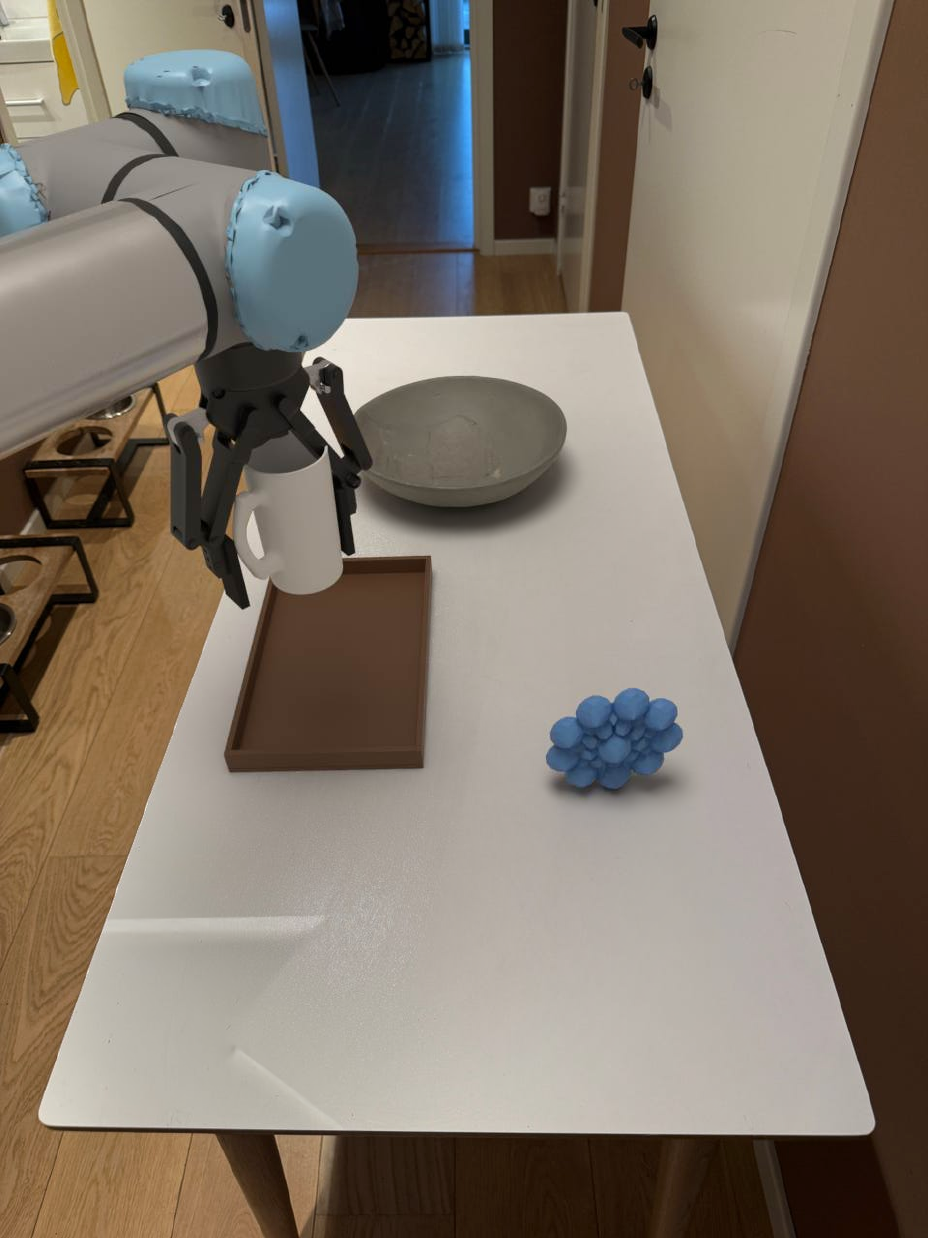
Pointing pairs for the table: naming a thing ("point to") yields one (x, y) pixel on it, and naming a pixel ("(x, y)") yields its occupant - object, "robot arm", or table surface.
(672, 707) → the blue sphere cluster
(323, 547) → the mug
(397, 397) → the bowl
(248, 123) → the robot arm
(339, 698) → the tray
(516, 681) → the table surface
